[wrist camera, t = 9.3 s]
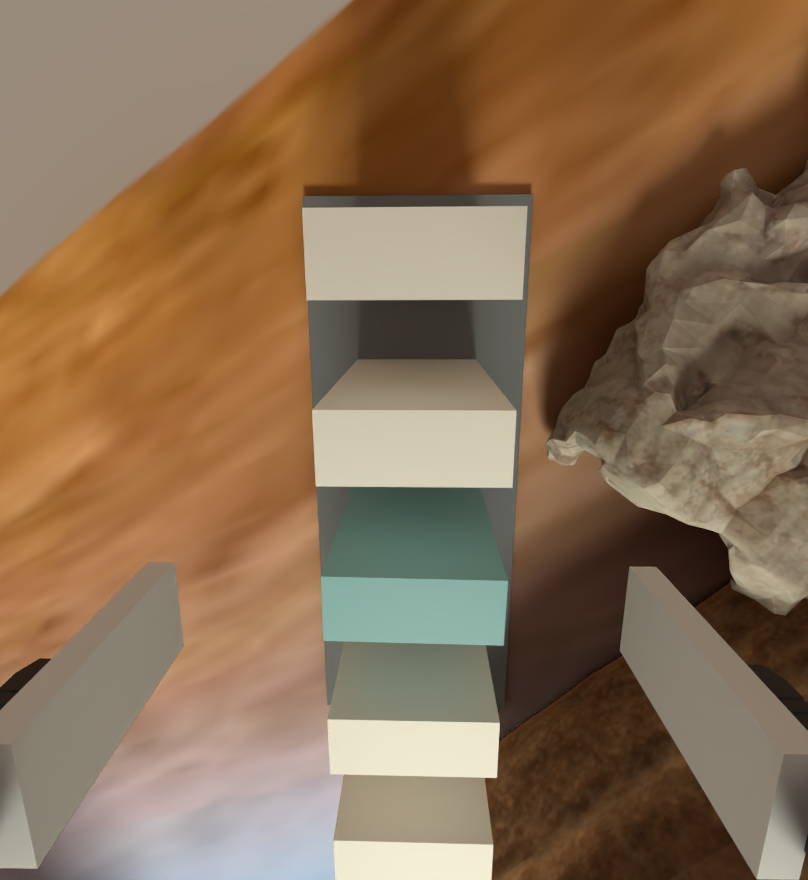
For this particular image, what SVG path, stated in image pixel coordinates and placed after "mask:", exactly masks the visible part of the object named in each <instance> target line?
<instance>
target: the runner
mask: <svg viewBox="0 0 808 880" xmlns="http://www.w3.org/2000/svg"><path fill="white" fill-rule="evenodd" d="M532 204H533V194H500V195H383V196H303V208H335V207H461V206H527V225H526V244H525V263H524V281H523V300H308V316H309V336H310V356H311V377H312V397H313V408H314V407H315V406H316V405H317V404H318V403H319V402H320V401H321V399H322V398H323V397H324V396H325V395H326V394H327V393H328V392H329V391H330V389H331V388H332V387H333V386H334V385H335V384H336V383H337V382H338V381H339V379H340V378H341V377H342V376H343V375H344V374H345V373H346V372H347V371H348V369H349V368H350V367H351V366H352V365H353V364H354V363H355V362H356V361H357V359H476V360H477V361H478V362H479V364H480V365H481V366H482V367H483V369H484V370H485V371H486V373H487V374H488V375H489V376H490V378H491V379H492V380H493V381H494V383H495V384H496V385H497V386H498V388H499V389H500V390H501V391H502V393H503V394H504V395H505V397H506V398H507V399H508V400H509V402H510V403H511V404H512V405H513V407H514V408H515V409H516V410H517V412H516V431H515V449H514V468H513V487H512V488H480V489H481V492H482V496H483V499H484V502H485V506H486V509H487V512H488V516H489V519H490V522H491V526H492V529H493V532H494V536H495V539H496V542H497V546H498V549H499V552H500V556H501V559H502V562H503V566H504V569H505V572H506V576H507V579H508V590H507V605H506V619H505V634H504V646H497V645H486V650H487V655H488V661H489V666H490V672H491V677H492V683H493V688H494V693H495V699H496V704H497V708H504V707H505V689H506V671H507V653H508V635H509V617H510V599H511V581H512V563H513V545H514V527H515V509H516V491H517V473H518V455H519V438H520V420H521V402H522V384H523V366H524V348H525V330H526V312H527V294H528V276H529V258H530V240H531V222H532ZM351 489H352V487H327V486H317V498H318V519H319V539H320V559H321V575H322V572H323V569H324V567H325V564H326V561H327V558H328V555H329V552H330V549H331V546H332V543H333V541H334V538H335V535H336V532H337V529H338V526H339V523H340V520H341V517H342V515H343V512H344V509H345V506H346V503H347V500H348V497H349V494H350V492H351ZM343 645H344V641H325V661H326V681H327V701H328V705H331V701H332V696H333V692H334V687H335V682H336V678H337V673H338V669H339V664H340V659H341V655H342V650H343Z"/></svg>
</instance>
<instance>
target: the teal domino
mask: <svg viewBox="0 0 808 880" xmlns="http://www.w3.org/2000/svg"><path fill="white" fill-rule="evenodd" d="M321 590H322V618H323V641H345V642H383V643H421V644H459V645H497V646H504V634H505V619H506V605H507V590H508V579H507V576H506V572H505V569H504V566H503V562H502V559H501V556H500V552H499V549H498V546H497V542H496V539H495V536H494V532H493V529H492V526H491V522H490V519H489V516H488V512H487V509H486V506H485V502H484V499H483V496H482V492H481V489H480V488H465V487H352V489H351V492H350V494H349V497H348V500H347V503H346V506H345V509H344V512H343V515H342V517H341V520H340V523H339V526H338V529H337V532H336V535H335V538H334V541H333V543H332V546H331V549H330V552H329V555H328V558H327V561H326V564H325V567H324V569H323V572H322V575H321Z"/></svg>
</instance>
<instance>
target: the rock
mask: <svg viewBox="0 0 808 880" xmlns="http://www.w3.org/2000/svg"><path fill="white" fill-rule="evenodd" d="M545 445H546V448H547V454H548V459H550V460H552V461H554V462H556V463H558V464H560V465H562V466H565V465H574V464H575V462H576V461H577V459H578V457H579V456H580V454H581V453H582V452H583V451H587V452H589V453H591V454H592V455H594V456H596V457H597V458H599V459H600V460H602V466H601V467H600V468H599V469H597V471H598V472H599V474H600V475H601V476H602V477H603V478H604V479H605V481H606V482H607V483H608V484H609V485H610V486H611V487H613V488H614V489H615V490H617V491H618V492H619V493H620V494H622V495H623V496H624V497H626V498H627V499H628V500H630V501H631V502H632V503H634V504H635V505H636V506H638V507H641V508H645V509H648V510H652V511H656V512H660V513H663V514H666V515H669V516H671V517H673V518H675V519H677V520H679V521H681V522H684V523H686V524H688V525H691V526H696V527H700V528H705V529H708V530H711V531H714V532H717V533H719V535H720V537H721V538H722V540H723V542H724V543H725V545H726V546H727V548H728V556H729V567H730V572H731V574H732V576H733V579H731V580H730V583H731V586H732V589H733V590H735V591H737V592H740V593H742V594H744V595H746V596H748V597H750V598H752V599H754V600H756V601H757V602H759V603H760V604H761V605H763V606H764V607H766V608H767V609H768V610H770V611H771V612H772V613H774V614H779V615H785V616H786V615H787V614H788V613H789V612H790V611H791V610H792V609H793V608H794V607H795V606H796V605H797V604H798V603H799V602H800V601H801V600H802V599H803V598H806V599H808V159H807V162H806V165H805V169H804V173H803V174H802V175H800V176H799V177H798V178H797V179H795V180H794V181H793V182H792V183H790V184H789V185H788V186H787V187H785V188H784V189H783V190H781V191H780V192H779V193H778V194H776V195H775V194H773V193H770V192H767V191H765V190H762V189H760V188H758V186H757V184H756V183H755V181H754V179H753V178H752V176H751V174H750V173H749V171H748V170H747V168H741V169H736V170H733V171H730V172H727V173H726V174H725V176H724V178H723V179H722V181H721V183H720V198H719V200H718V202H717V204H716V205H715V207H714V209H713V211H712V212H711V213H709V214H708V215H707V216H706V217H705V219H704V220H703V221H702V223H701V224H700V226H699V227H698V228H697V229H694V230H692V231H690V232H688V233H685V234H683V235H681V236H679V237H677V238H674V239H672V240H670V241H669V242H668V243H667V244H666V246H665V247H664V248H663V249H662V250H661V251H660V252H659V253H658V255H657V256H656V257H655V258H654V259H653V260H652V261H651V263H650V264H649V266H648V267H647V269H646V281H645V292H644V302H643V303H642V305H641V306H640V307H639V310H638V313H637V316H636V317H635V319H634V320H633V321H632V322H630V323H628V324H626V325H624V326H622V327H620V328H618V329H617V330H616V332H615V334H614V337H613V339H612V341H611V344H610V346H609V348H608V350H607V352H606V354H605V355H604V356H603V357H601V358H600V359H598V360H597V361H596V362H595V363H594V365H593V368H592V371H591V374H590V377H589V379H588V381H587V383H586V385H585V387H584V388H583V389H581V390H580V391H578V392H576V393H574V395H573V396H572V397H571V398H570V399H569V400H568V402H567V403H566V404H565V405H564V406H563V408H562V410H561V412H560V414H559V415H558V418H557V423H556V427H555V429H554V430H553V432H552V434H551V435H550V437H549V439H548V440H547V442H546V444H545Z"/></svg>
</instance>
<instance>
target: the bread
mask: <svg viewBox="0 0 808 880" xmlns="http://www.w3.org/2000/svg"><path fill="white" fill-rule="evenodd" d="M695 609H696V610H697V611H698V612H699V614H700V615H701V616H702V617H703V618H704V619H705V620H706V621H707V622H708V623H709V624H710V626H711V627H712V628H713V629H714V630H715V631H716V632H717V633H718V634H719V635H720V636H721V637H722V639H723V640H724V641H725V642H726V643H727V644H728V645H729V646H730V647H731V648H732V649H733V650H734V652H735V653H736V654H737V655H738V656H739V657H740V658H741V659H742V660H743V661H744V662H745V663H746V665H763V666H765V667H767V668H768V669H770V670H771V671H773V672H774V673H776V674H778V675H779V676H781V677H782V678H784V679H785V680H787V681H788V682H789V683H790V684H791V685H792V686H793V687H794V688H795V689H796V690H797V691H798V692H799V693H800V694H801V695H802V696H803V697H804V701H808V599H806V598H803V599H802V600H801V601H800V602H799V603H798V604H797V605H796V606H795V607H794V608H793V609H792V610H791V611H790V612H789V613H788V614H787V615H786V616H785V615H779V614H774V613H772V612H771V611H770V610H768V609H767V608H766V607H764V606H763V605H761V604H760V603H759V602H757V601H756V600H754V599H752V598H750V597H748V596H746V595H744V594H742V593H740V592H737V591H735V590H733V589H732V586H731V583H729V584H727V585H726V586H725V587H723V588H722V589H720V590H719V591H717V592H716V593H715V594H713V595H712V596H710V597H709V598H707V599H706V600H705V601H703V602H702V603H700V604H699V605H698V606H696V607H695ZM485 785H486V792H487V800H488V808H489V815H490V823H491V831H492V838H493V861H492V879H491V880H771V879H756V877H755V876H754V874H753V872H752V871H751V869H750V867H749V866H748V864H747V862H746V861H745V859H744V857H743V856H742V854H741V852H740V851H739V849H738V847H737V846H736V844H735V842H734V841H733V839H732V837H731V836H730V834H729V832H728V831H727V829H726V827H725V826H724V824H723V822H722V821H721V819H720V817H719V816H718V814H717V812H716V811H715V809H714V807H713V806H712V804H711V802H710V801H709V799H708V797H707V796H706V794H705V792H704V790H703V789H702V787H701V785H700V784H699V782H698V780H697V779H696V777H695V775H694V774H693V772H692V770H691V769H690V767H689V765H688V764H687V762H686V760H685V759H684V757H683V755H682V754H681V752H680V750H679V749H678V747H677V745H676V744H675V742H674V740H673V739H672V737H671V735H670V734H669V732H668V730H667V729H666V727H665V725H664V724H663V722H662V720H661V719H660V717H659V715H658V714H657V712H656V710H655V709H654V707H653V705H652V704H651V702H650V700H649V699H648V697H647V695H646V693H645V692H644V690H643V688H642V687H641V685H640V683H639V682H638V680H637V678H636V677H635V675H634V673H633V672H632V670H631V668H630V667H629V665H628V663H627V662H626V660H625V658H624V657H623V655H622V656H621V657H619V658H617V659H616V660H614V661H613V662H611V663H609V664H608V665H606V666H605V667H603V668H601V669H600V670H598V671H596V672H595V673H593V674H592V675H590V676H588V677H587V678H586V679H584V680H583V681H582V682H580V683H579V684H578V685H576V686H575V687H574V688H572V689H571V690H570V691H568V692H567V693H566V694H564V695H563V696H562V697H561V698H559V699H558V700H557V701H555V702H554V703H552V704H551V705H549V706H548V707H546V708H545V709H543V710H542V711H540V712H539V713H538V714H536V715H535V716H533V717H532V718H530V719H529V720H527V721H526V722H525V723H523V724H522V725H520V726H519V727H518V728H516V729H515V730H514V731H512V732H511V733H510V734H508V735H507V736H506V737H504V738H503V739H501V740H500V741H499V748H498V767H497V778H485ZM799 880H808V856H807V854H805V858H804V862H803V866H802V870H801V874H800V878H799Z"/></svg>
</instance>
